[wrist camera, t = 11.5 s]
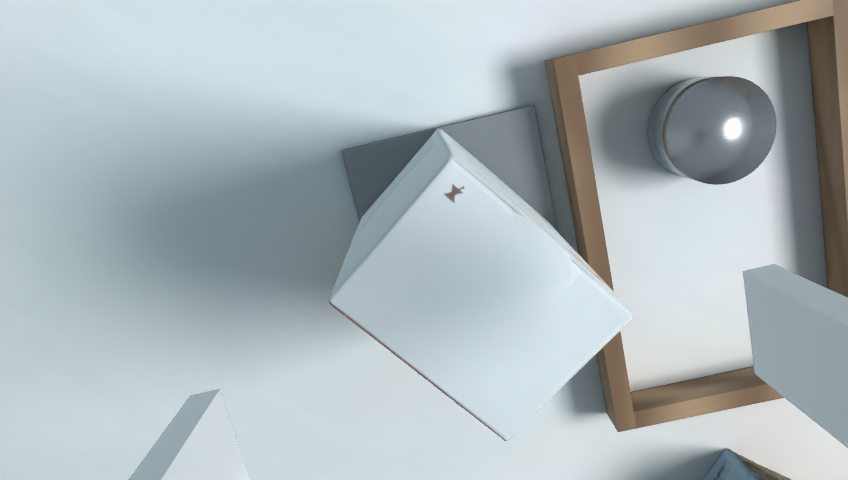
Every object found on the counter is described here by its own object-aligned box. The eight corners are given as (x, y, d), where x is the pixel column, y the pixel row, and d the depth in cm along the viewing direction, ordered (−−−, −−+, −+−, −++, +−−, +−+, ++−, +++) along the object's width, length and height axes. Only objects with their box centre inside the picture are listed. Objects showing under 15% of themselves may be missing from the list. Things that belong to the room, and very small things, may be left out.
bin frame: (607, 413, 35) (617, 432, 33) (544, 60, 31) (553, 58, 29) (851, 362, 35) (877, 378, 33) (826, -6, 30) (853, -13, 28)
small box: (359, 218, 32) (320, 301, 20) (438, 124, 31) (452, 148, 18) (474, 313, 34) (508, 448, 21) (554, 226, 32) (642, 313, 20)
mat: (388, 327, 34) (387, 329, 34) (342, 149, 32) (341, 150, 31) (566, 288, 34) (568, 290, 33) (532, 105, 31) (534, 105, 31)
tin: (652, 184, 32) (675, 193, 30) (641, 89, 31) (663, 89, 28) (747, 165, 32) (779, 172, 29) (739, 68, 31) (772, 66, 28)
